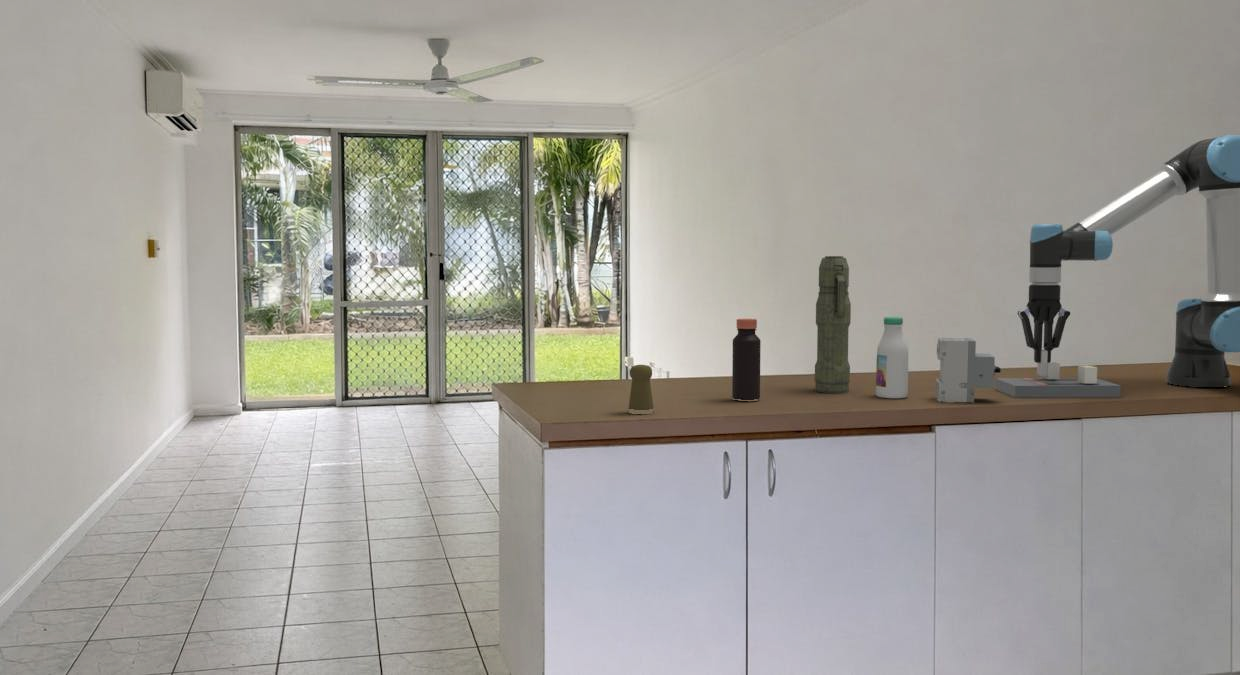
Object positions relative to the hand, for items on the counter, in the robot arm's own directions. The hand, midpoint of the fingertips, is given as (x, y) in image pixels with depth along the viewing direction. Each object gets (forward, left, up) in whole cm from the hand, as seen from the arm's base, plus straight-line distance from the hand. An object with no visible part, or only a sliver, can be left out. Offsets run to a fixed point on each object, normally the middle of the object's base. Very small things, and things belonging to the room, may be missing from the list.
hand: (1041, 375), depth 265 cm
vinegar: (+78, +14, -4) cm, 79 cm away
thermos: (+54, -1, -4) cm, 54 cm away
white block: (-8, +8, -1) cm, 11 cm away
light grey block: (-2, 0, -1) cm, 2 cm away
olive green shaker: (+104, +32, -4) cm, 109 cm away
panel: (-2, +4, -4) cm, 6 cm away
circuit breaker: (+24, +15, -4) cm, 29 cm away
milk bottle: (+41, +9, -4) cm, 42 cm away
